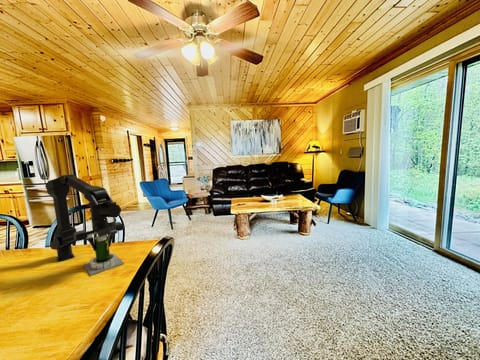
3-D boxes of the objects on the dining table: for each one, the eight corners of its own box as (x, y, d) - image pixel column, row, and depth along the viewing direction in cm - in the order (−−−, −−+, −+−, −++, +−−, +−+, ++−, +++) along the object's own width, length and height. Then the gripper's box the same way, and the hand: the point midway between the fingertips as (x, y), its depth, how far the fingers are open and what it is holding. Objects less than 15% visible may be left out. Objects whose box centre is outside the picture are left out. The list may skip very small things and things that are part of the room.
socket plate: (83, 265, 97) (83, 264, 97) (115, 255, 106) (114, 254, 106) (90, 276, 88) (90, 274, 88) (124, 264, 97) (123, 262, 97)
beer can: (96, 265, 93) (93, 240, 92) (96, 261, 98) (93, 236, 96) (110, 262, 96) (108, 237, 95) (109, 257, 101) (107, 233, 99)
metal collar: (87, 264, 97) (87, 259, 96) (112, 256, 104) (112, 251, 104) (93, 272, 90) (92, 266, 89) (119, 262, 97) (119, 257, 97)
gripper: (76, 224, 82) (80, 262, 84) (127, 214, 96) (130, 246, 97) (71, 219, 90) (75, 253, 92) (119, 210, 103) (121, 240, 105)
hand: (102, 248), depth 96 cm, fingers closed on beer can, 5 cm apart
